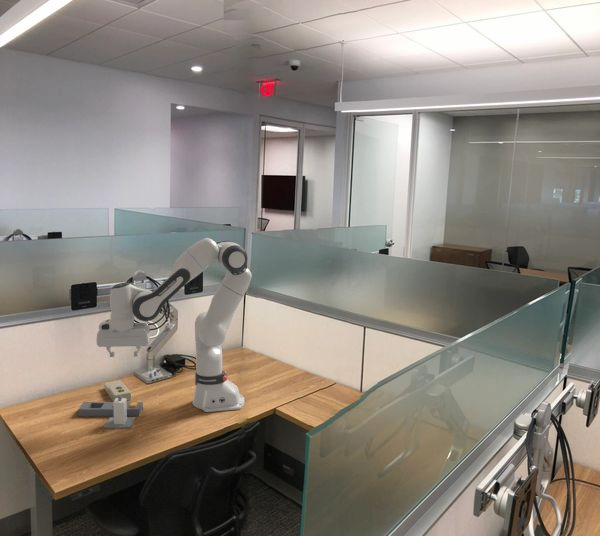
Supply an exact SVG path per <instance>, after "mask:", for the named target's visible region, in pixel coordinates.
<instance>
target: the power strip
mask: <svg viewBox="0 0 600 536" xmlns="http://www.w3.org/2000/svg"><path fill="white" fill-rule="evenodd" d="M143 410H144V402H143V401H127V417H140V415H141V413H142V411H143ZM77 414H78V417H114V409H113V401H83V402H82V404H81V405H80V407H78V409H77Z"/></svg>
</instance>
